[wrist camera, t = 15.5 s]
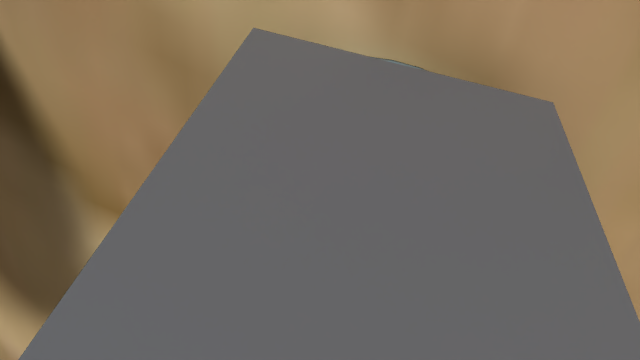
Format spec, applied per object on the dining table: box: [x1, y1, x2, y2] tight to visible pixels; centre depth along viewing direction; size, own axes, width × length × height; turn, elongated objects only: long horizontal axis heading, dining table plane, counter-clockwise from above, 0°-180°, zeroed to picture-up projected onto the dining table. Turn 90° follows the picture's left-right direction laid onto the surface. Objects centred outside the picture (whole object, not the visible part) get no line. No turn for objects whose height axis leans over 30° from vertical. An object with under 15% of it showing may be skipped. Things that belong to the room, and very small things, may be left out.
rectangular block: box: [19, 28, 640, 360], centre depth 10 cm, size 7×9×9 cm
